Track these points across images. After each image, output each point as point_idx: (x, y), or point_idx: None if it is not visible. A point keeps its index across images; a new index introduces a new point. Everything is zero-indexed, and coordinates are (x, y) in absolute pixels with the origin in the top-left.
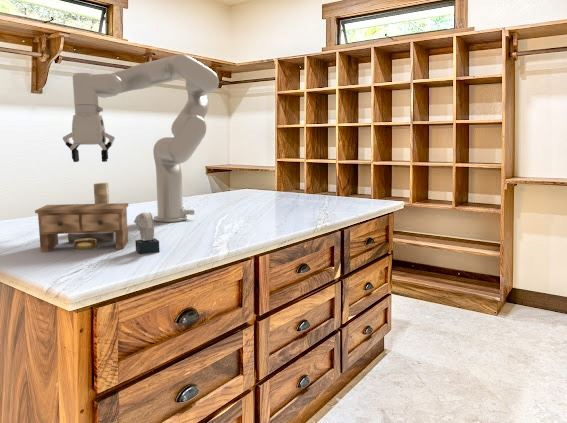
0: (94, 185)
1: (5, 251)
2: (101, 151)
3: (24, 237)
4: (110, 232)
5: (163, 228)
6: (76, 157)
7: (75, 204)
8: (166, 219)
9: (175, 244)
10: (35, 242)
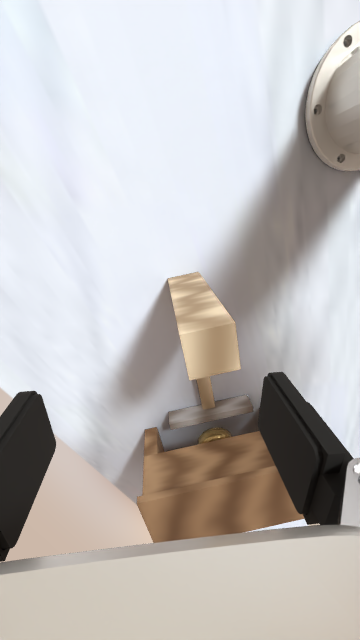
0: (191, 375)
1: (100, 472)
2: (297, 507)
3: (50, 387)
4: (247, 409)
5: (336, 269)
6: (38, 459)
7: (201, 491)
8: (354, 169)
9: (355, 410)
10: (106, 421)
